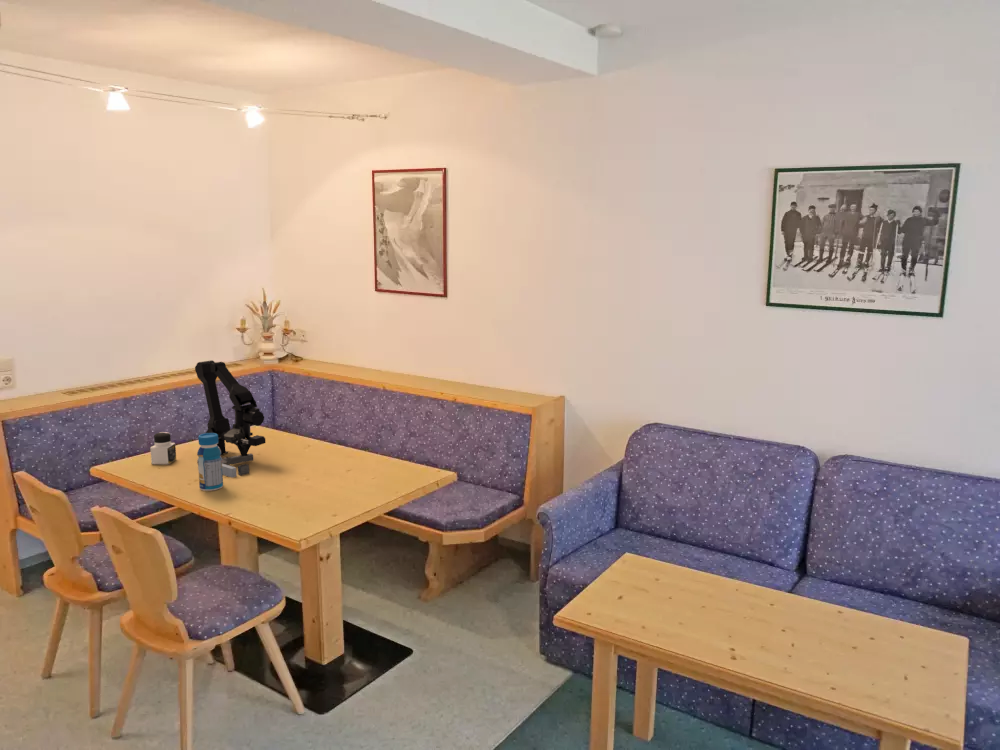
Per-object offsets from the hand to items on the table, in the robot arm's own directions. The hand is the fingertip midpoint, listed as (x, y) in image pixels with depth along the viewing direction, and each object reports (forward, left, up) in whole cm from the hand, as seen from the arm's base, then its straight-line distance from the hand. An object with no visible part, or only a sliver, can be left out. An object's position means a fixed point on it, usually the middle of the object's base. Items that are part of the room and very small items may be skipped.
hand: (243, 458), depth 312 cm
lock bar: (+1, -5, -1) cm, 5 cm away
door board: (+4, -14, -2) cm, 15 cm away
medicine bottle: (-25, -20, -2) cm, 32 cm away
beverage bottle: (+18, -27, -2) cm, 32 cm away
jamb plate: (0, -10, -2) cm, 10 cm away
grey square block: (+13, -10, -2) cm, 16 cm away
